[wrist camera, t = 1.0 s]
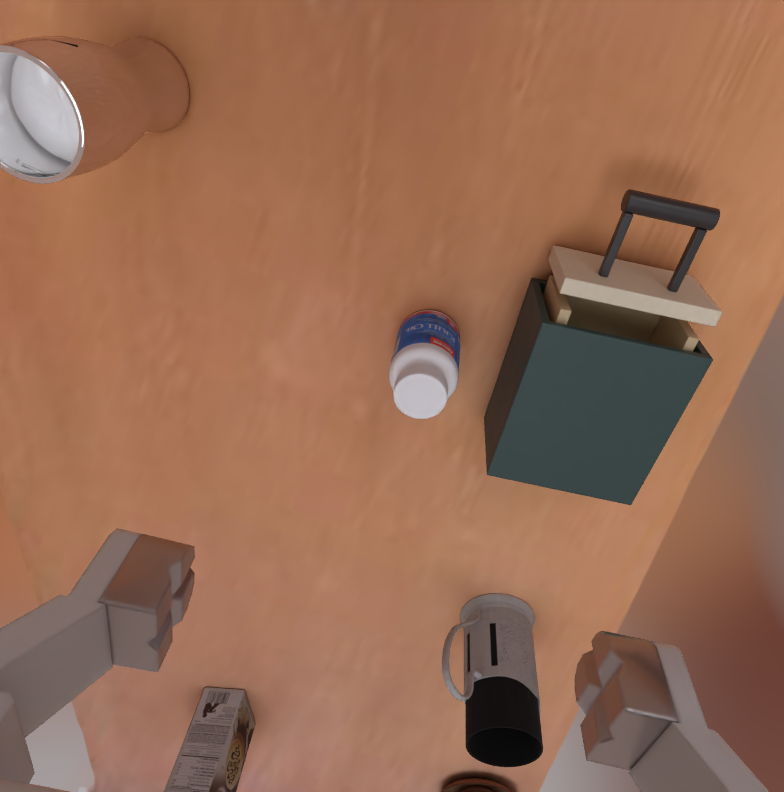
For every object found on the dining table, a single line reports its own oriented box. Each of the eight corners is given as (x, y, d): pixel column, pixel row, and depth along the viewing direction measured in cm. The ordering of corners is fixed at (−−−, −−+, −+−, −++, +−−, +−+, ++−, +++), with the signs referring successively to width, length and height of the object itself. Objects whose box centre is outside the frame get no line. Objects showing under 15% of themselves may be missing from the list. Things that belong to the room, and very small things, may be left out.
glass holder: (487, 649, 75) (492, 778, 62) (416, 585, 70) (406, 711, 57) (548, 625, 71) (567, 757, 59) (478, 555, 66) (482, 684, 54)
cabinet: (531, 277, 48) (542, 322, 41) (678, 309, 49) (713, 359, 42) (483, 417, 56) (486, 475, 49) (610, 444, 56) (630, 505, 50)
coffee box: (257, 723, 90) (221, 849, 77) (216, 720, 91) (173, 845, 78) (246, 688, 85) (205, 816, 72) (202, 685, 86) (154, 812, 73)
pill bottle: (465, 312, 51) (465, 371, 42) (454, 367, 53) (452, 432, 45) (400, 303, 51) (388, 360, 43) (393, 358, 54) (381, 421, 46)
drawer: (580, 165, 43) (598, 189, 37) (730, 198, 43) (769, 227, 37) (503, 387, 53) (507, 431, 48) (623, 413, 53) (642, 460, 48)
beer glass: (118, 6, 41) (-34, 6, 28) (211, 70, 42) (105, 98, 30) (88, 100, 44) (-59, 137, 32) (175, 156, 46) (67, 213, 33)
